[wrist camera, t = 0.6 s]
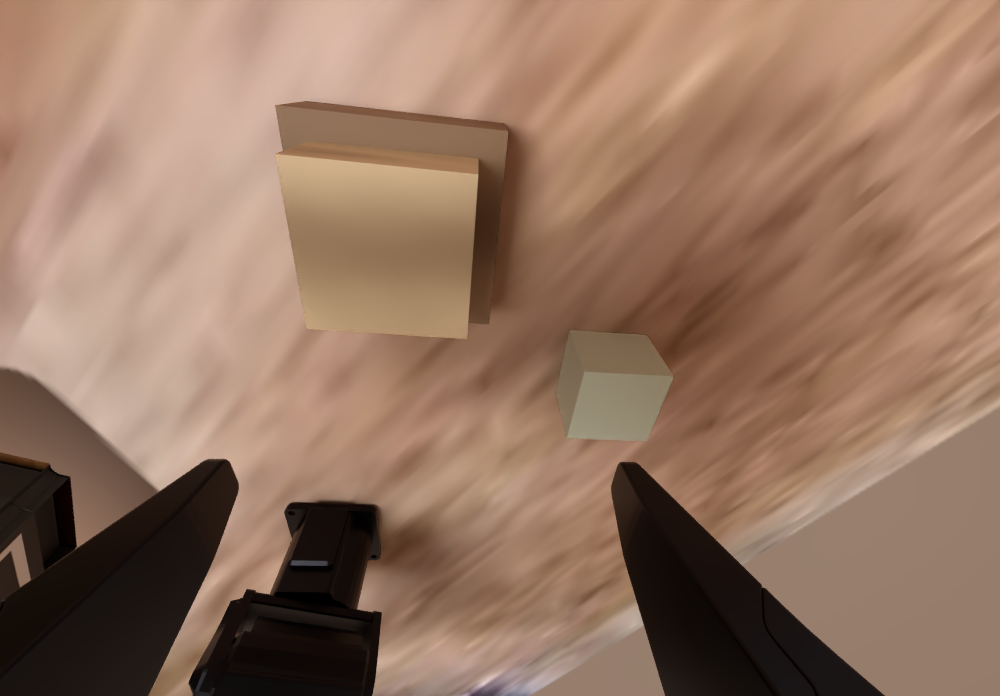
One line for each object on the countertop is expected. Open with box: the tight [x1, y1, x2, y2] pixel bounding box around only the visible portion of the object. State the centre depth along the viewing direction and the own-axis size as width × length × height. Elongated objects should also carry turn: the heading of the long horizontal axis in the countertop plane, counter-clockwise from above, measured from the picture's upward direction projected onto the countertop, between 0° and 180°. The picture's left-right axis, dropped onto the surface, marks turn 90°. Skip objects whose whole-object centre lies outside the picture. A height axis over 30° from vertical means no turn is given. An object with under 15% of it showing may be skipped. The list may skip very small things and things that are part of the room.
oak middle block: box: [275, 141, 478, 339], centre depth 15 cm, size 6×6×3 cm
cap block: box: [556, 330, 674, 442], centre depth 23 cm, size 4×4×4 cm
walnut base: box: [275, 101, 508, 324], centre depth 18 cm, size 8×8×3 cm
